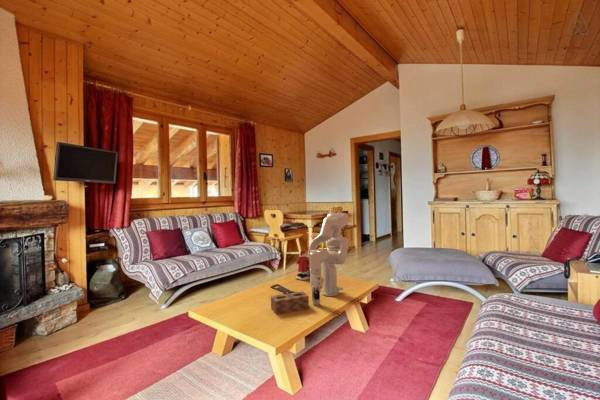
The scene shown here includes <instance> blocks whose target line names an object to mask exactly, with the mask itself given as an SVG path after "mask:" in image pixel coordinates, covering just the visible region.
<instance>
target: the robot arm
mask: <svg viewBox="0 0 600 400" xmlns="http://www.w3.org/2000/svg"><path fill="white" fill-rule="evenodd" d="M349 221H350V216H349V214H348V213H345V212H329V213H327V215H326V217H324V218H323V221H322V224H321V228H320V232H319V234H318V235H317V236H316V237H315V238H314V239H312V241H311V243H310V245H309V247H308V250H307V251H308V252H307V257H308V258H309V261H310V279H309V284H310V287H311V288H312V287H314V289H315V293H316V294H315V300H319V299H320V300H321V296H320V293H321V295H322V296H326V297H336V296H339V294H340V291H342V290H344V287H343V286H341V287H340V286H338V276H337V275H338V271H337V266H336V265H344V264H346V261H347V256H348V250H349V240H348V238H347V237H344V236H341V229H343V228H344V227H345V226H347V225H348V223H349ZM322 243H326V248H328V249H320V248H317V247H318V246H319V245H321V244H322ZM322 267H323V274H322ZM317 288H318V289H317ZM322 289H323V290H322Z"/></svg>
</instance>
